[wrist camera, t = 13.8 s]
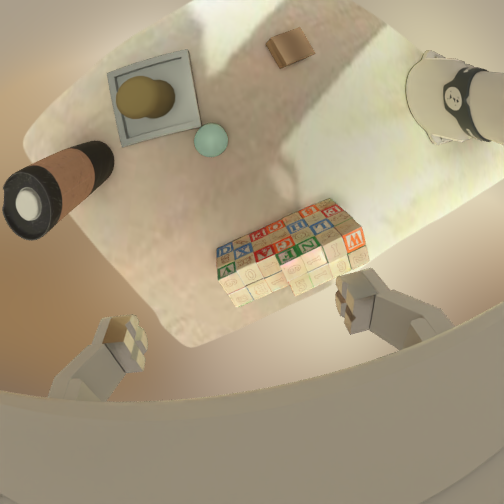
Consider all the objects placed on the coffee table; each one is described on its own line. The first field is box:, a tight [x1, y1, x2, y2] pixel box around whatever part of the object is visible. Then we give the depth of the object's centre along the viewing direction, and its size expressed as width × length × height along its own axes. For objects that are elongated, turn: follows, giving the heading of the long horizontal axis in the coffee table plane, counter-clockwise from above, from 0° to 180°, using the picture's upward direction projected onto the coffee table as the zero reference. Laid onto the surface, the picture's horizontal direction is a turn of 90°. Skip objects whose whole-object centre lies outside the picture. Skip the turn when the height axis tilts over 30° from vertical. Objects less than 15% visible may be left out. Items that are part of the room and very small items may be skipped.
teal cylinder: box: [194, 123, 228, 157], centre depth 37 cm, size 4×4×5 cm
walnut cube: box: [266, 27, 315, 68], centre depth 31 cm, size 4×4×4 cm
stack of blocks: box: [217, 198, 369, 308], centre depth 43 cm, size 21×6×12 cm, turn 114°
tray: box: [107, 49, 202, 147], centre depth 34 cm, size 12×12×2 cm
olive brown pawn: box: [116, 76, 175, 119], centre depth 29 cm, size 6×6×11 cm
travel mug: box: [2, 141, 114, 240], centre depth 29 cm, size 8×8×20 cm
